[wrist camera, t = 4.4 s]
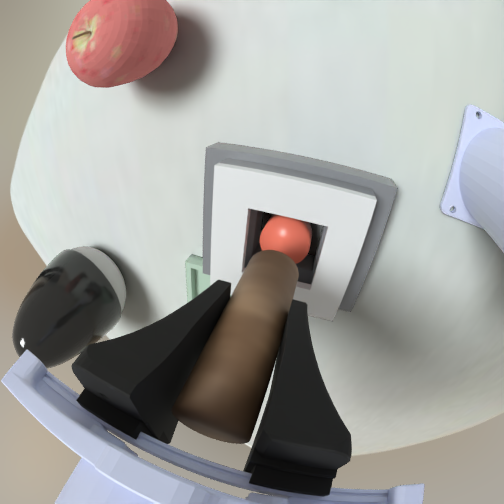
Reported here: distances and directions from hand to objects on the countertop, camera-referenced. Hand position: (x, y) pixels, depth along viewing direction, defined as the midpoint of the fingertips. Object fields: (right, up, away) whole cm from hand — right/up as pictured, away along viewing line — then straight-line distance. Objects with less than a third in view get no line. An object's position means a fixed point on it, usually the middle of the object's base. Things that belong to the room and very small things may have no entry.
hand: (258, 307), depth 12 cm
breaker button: (+2, +4, +6) cm, 8 cm away
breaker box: (+3, +4, +7) cm, 9 cm away
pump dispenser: (-18, 0, +17) cm, 25 cm away
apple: (-8, +18, +3) cm, 20 cm away
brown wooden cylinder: (+1, +1, +2) cm, 3 cm away
